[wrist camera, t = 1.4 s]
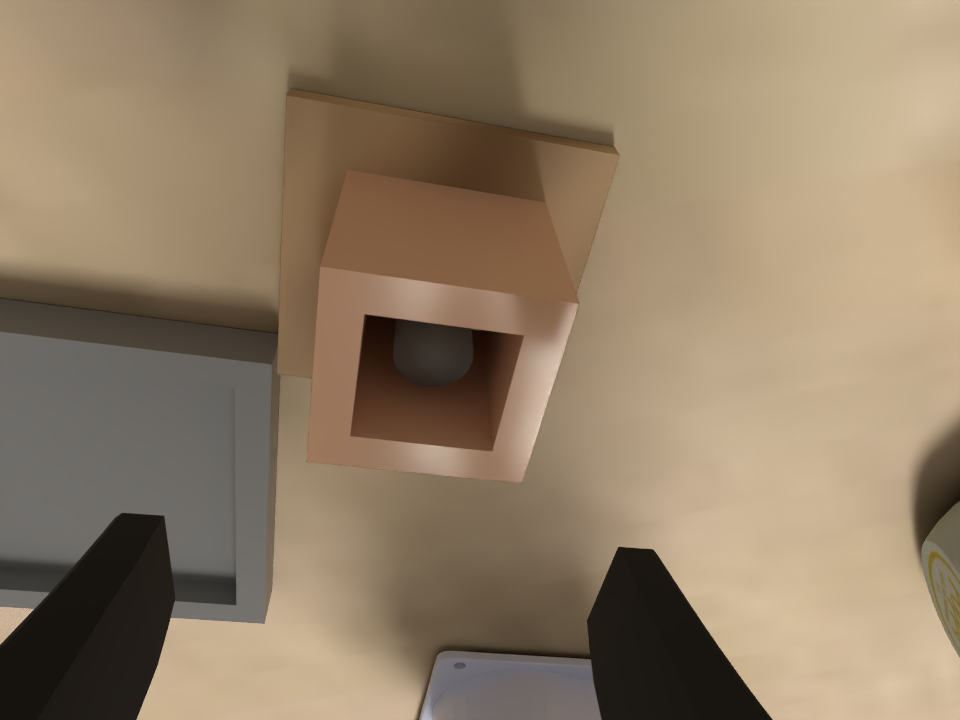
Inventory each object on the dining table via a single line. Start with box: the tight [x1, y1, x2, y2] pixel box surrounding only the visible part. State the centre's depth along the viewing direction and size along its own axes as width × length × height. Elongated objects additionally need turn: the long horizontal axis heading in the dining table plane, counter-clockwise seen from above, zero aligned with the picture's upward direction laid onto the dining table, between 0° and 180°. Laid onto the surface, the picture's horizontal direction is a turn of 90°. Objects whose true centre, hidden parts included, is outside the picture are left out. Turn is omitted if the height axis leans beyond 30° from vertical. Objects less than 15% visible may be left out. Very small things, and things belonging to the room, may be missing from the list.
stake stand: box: [277, 89, 620, 387], centre depth 17 cm, size 8×8×4 cm
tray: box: [0, 298, 280, 624], centre depth 22 cm, size 12×12×2 cm
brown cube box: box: [306, 170, 579, 483], centre depth 17 cm, size 5×6×5 cm
